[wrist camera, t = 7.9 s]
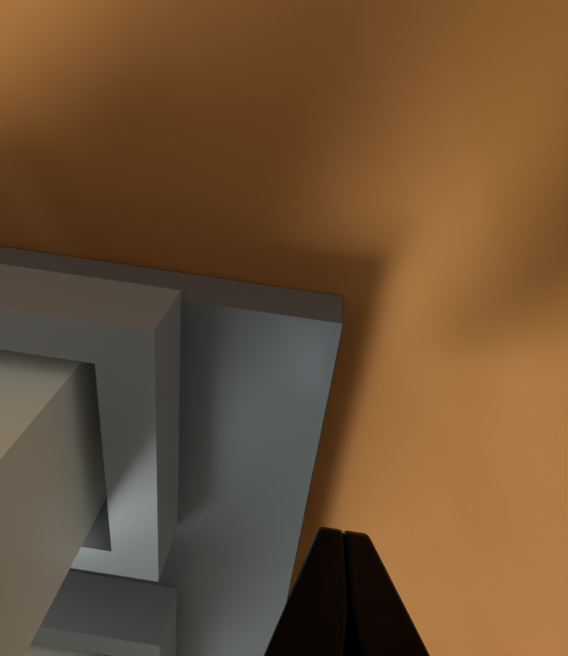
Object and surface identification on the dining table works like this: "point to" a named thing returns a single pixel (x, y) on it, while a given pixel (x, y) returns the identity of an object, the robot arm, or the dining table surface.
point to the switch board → (181, 446)
